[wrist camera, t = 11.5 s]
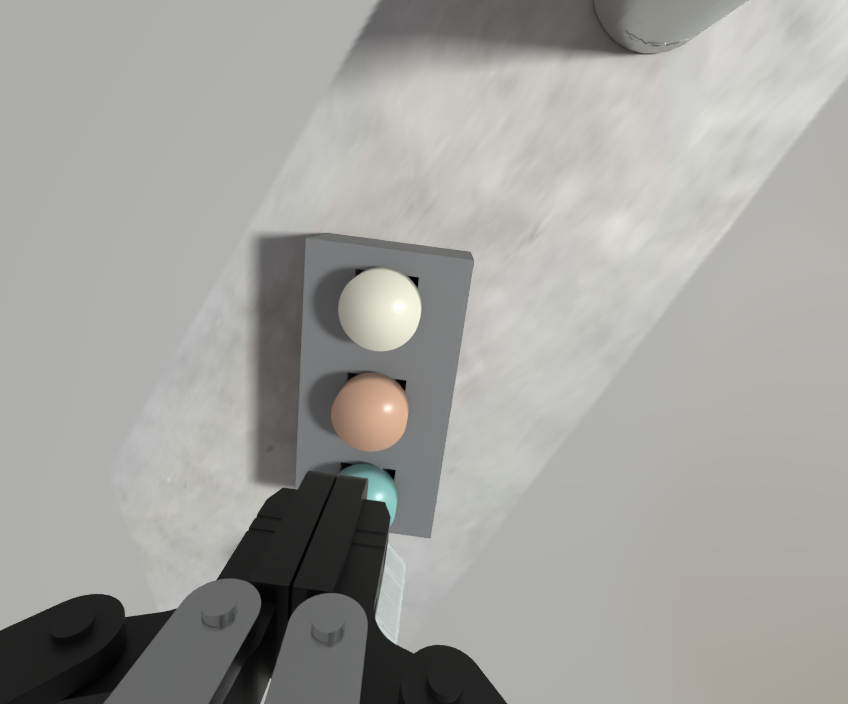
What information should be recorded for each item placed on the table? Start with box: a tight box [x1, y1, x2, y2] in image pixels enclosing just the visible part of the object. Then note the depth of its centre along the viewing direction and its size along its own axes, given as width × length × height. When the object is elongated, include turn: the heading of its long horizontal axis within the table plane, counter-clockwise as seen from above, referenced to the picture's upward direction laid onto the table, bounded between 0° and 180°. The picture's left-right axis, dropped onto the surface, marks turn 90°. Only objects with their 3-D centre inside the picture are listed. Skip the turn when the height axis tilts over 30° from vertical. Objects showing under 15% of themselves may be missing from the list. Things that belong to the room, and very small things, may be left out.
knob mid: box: [331, 373, 409, 452], centre depth 37 cm, size 6×6×8 cm
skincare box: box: [375, 543, 407, 645], centre depth 42 cm, size 6×4×12 cm
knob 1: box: [338, 267, 422, 351], centre depth 35 cm, size 6×6×8 cm
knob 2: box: [338, 464, 398, 526], centre depth 39 cm, size 6×6×8 cm
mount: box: [295, 233, 474, 538], centre depth 39 cm, size 24×12×6 cm, turn 173°
